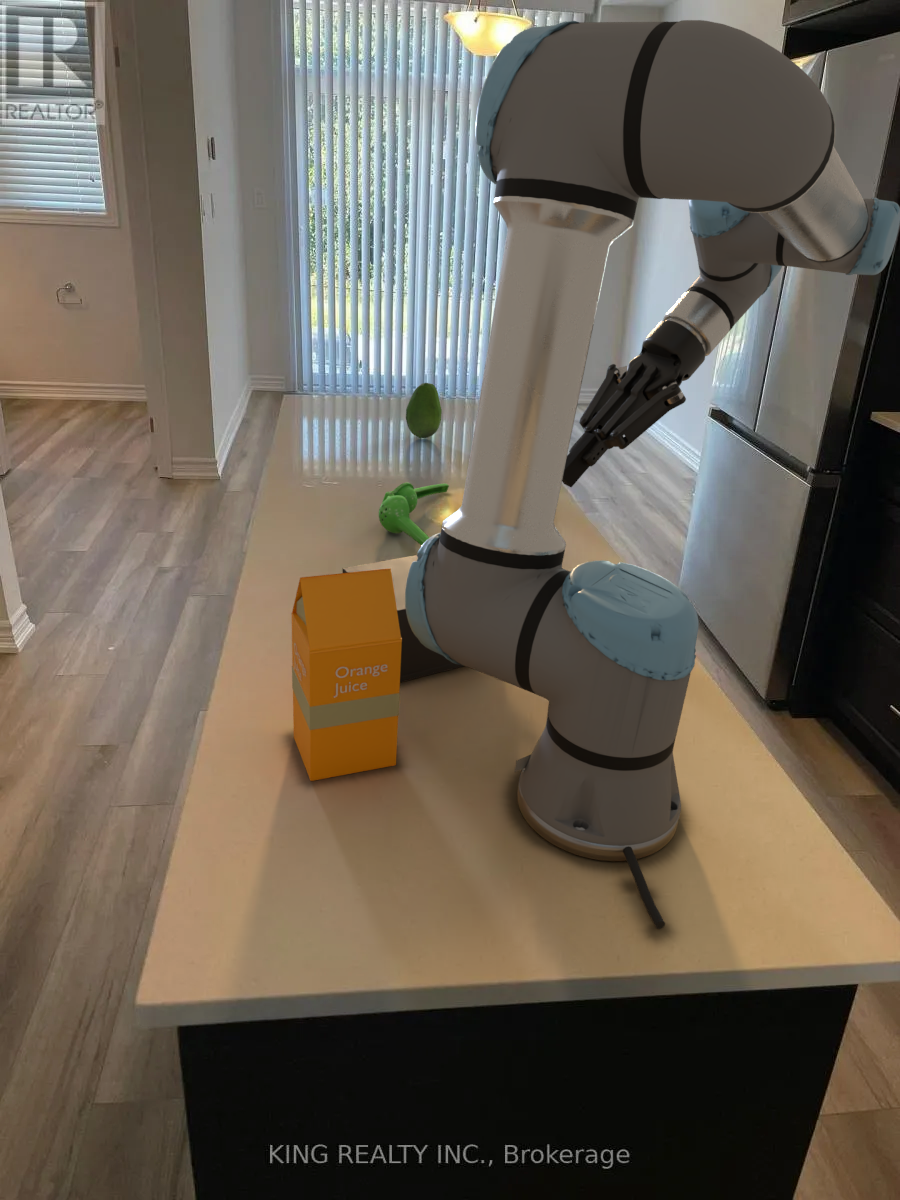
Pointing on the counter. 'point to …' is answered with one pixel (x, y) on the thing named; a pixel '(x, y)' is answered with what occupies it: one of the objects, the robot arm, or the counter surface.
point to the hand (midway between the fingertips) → (562, 479)
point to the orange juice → (346, 672)
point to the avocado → (424, 411)
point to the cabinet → (413, 653)
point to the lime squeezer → (405, 509)
